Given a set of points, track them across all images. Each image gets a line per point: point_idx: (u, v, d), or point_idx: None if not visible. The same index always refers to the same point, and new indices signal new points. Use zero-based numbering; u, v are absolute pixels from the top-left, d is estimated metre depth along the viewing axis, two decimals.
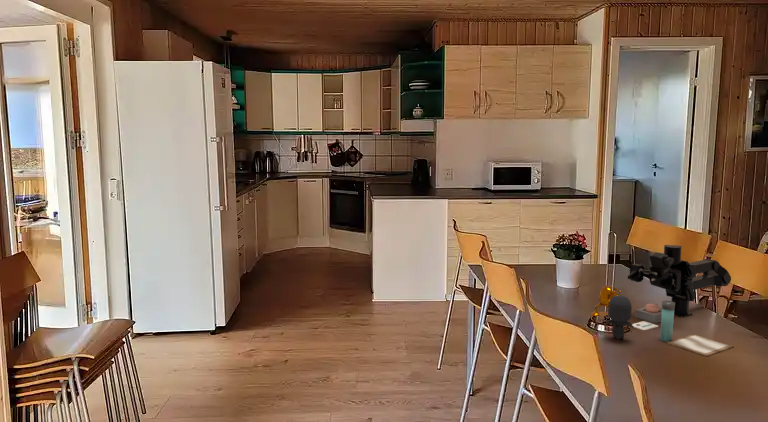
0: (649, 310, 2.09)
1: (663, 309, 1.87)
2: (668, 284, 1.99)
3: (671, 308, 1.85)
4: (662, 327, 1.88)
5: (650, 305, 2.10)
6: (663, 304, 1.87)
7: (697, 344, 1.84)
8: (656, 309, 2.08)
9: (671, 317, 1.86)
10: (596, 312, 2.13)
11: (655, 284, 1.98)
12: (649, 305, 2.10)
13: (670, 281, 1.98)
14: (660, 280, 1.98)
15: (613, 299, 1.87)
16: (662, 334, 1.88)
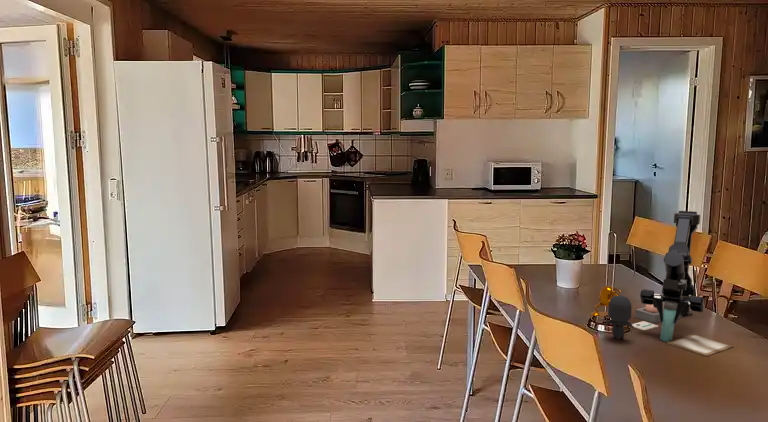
0: (649, 310, 2.09)
1: (665, 309, 1.87)
2: (685, 309, 1.88)
3: (673, 308, 1.85)
4: (663, 326, 1.88)
5: (650, 305, 2.10)
6: (666, 304, 1.86)
7: (697, 344, 1.84)
8: (656, 309, 2.08)
9: (673, 317, 1.86)
10: (596, 312, 2.13)
11: (677, 320, 1.86)
12: (649, 305, 2.10)
13: (687, 307, 1.87)
14: (680, 314, 1.86)
15: (613, 299, 1.87)
16: (662, 334, 1.88)
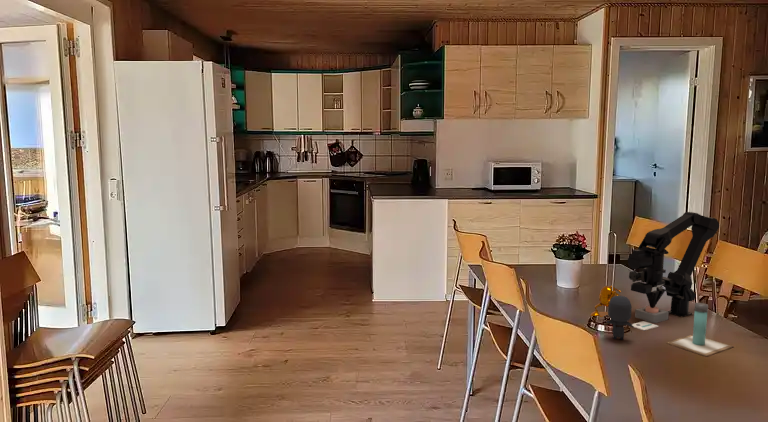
0: None
1: (697, 312, 1.82)
2: None
3: (706, 310, 1.81)
4: (696, 330, 1.83)
5: (650, 307, 2.10)
6: (697, 307, 1.82)
7: None
8: (656, 311, 2.09)
9: (705, 319, 1.82)
10: (596, 312, 2.13)
11: (652, 304, 2.09)
12: (649, 307, 2.10)
13: None
14: (648, 298, 2.10)
15: (613, 299, 1.87)
16: (696, 338, 1.83)
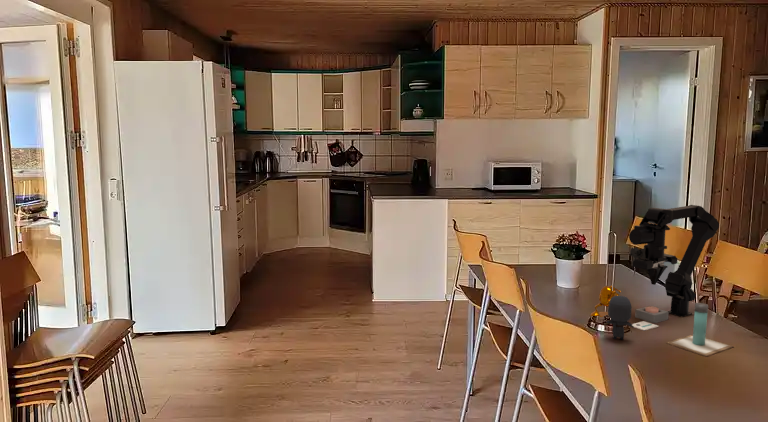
0: None
1: (697, 312, 1.82)
2: None
3: (706, 311, 1.81)
4: (696, 330, 1.83)
5: (650, 308, 2.10)
6: (697, 307, 1.82)
7: None
8: (656, 312, 2.09)
9: (705, 320, 1.82)
10: (596, 312, 2.13)
11: (653, 281, 2.08)
12: (649, 308, 2.10)
13: None
14: (650, 275, 2.09)
15: (613, 299, 1.87)
16: (696, 338, 1.83)
